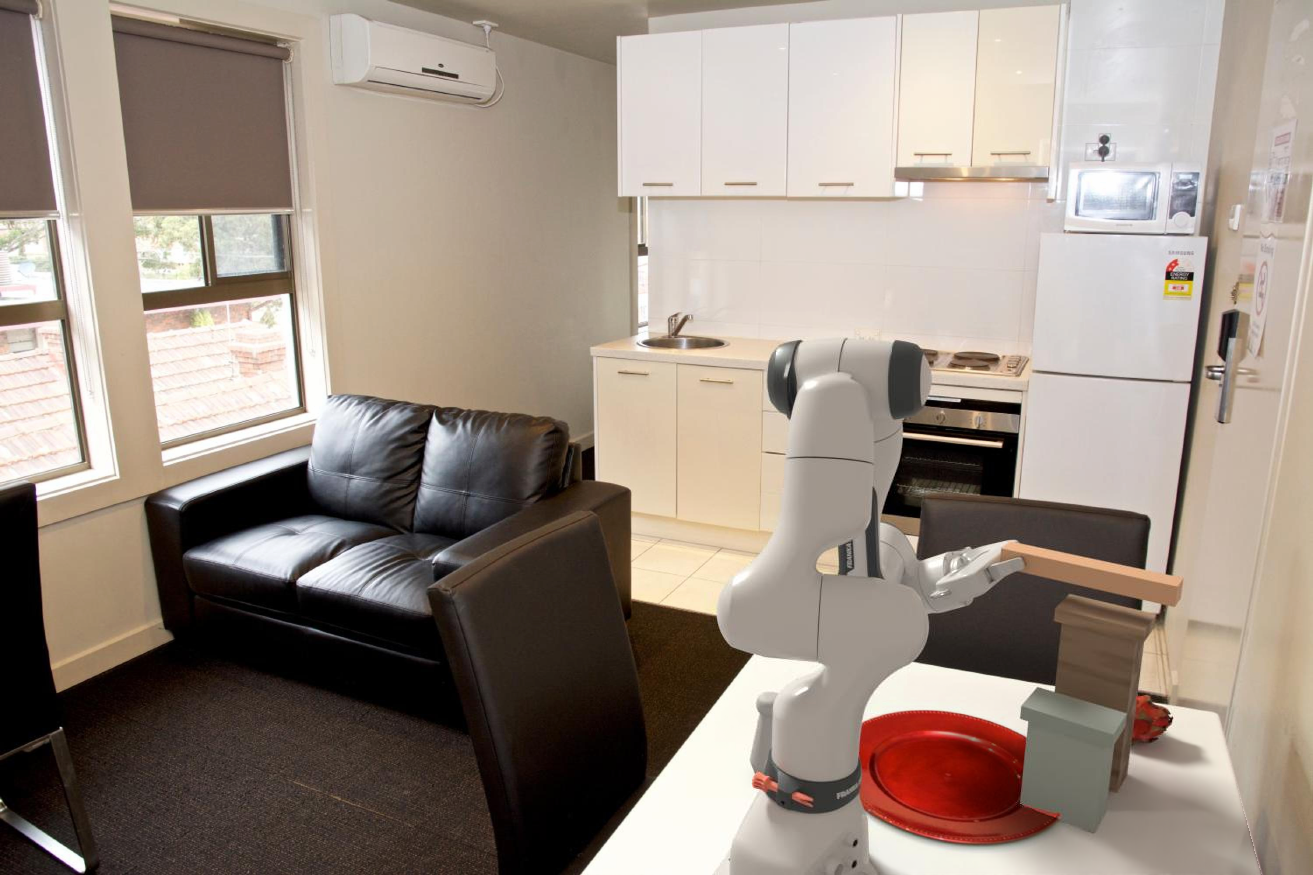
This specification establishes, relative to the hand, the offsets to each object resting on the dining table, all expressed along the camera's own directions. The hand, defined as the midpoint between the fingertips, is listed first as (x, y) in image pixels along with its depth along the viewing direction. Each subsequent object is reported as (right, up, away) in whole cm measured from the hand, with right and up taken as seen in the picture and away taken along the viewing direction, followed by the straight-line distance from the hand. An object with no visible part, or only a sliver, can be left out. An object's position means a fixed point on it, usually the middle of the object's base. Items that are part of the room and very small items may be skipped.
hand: (1030, 556), depth 144 cm
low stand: (+1, -35, -8) cm, 36 cm away
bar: (+6, -3, -5) cm, 8 cm away
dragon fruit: (+21, -31, +10) cm, 38 cm away
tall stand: (+9, -33, +1) cm, 34 cm away
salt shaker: (-39, -33, 0) cm, 51 cm away
